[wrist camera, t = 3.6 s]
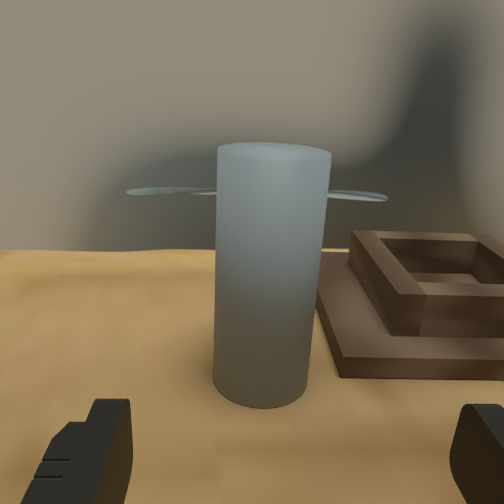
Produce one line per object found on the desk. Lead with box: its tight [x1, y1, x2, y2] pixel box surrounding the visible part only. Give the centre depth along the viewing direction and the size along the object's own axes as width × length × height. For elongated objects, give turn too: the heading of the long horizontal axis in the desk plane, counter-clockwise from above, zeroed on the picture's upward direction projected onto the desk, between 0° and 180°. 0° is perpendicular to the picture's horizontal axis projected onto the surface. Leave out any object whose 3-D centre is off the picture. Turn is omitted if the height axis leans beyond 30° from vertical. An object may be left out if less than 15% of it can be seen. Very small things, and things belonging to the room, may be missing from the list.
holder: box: [315, 230, 504, 380], centre depth 29 cm, size 16×14×4 cm
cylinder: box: [213, 142, 332, 408], centre depth 21 cm, size 5×5×11 cm
